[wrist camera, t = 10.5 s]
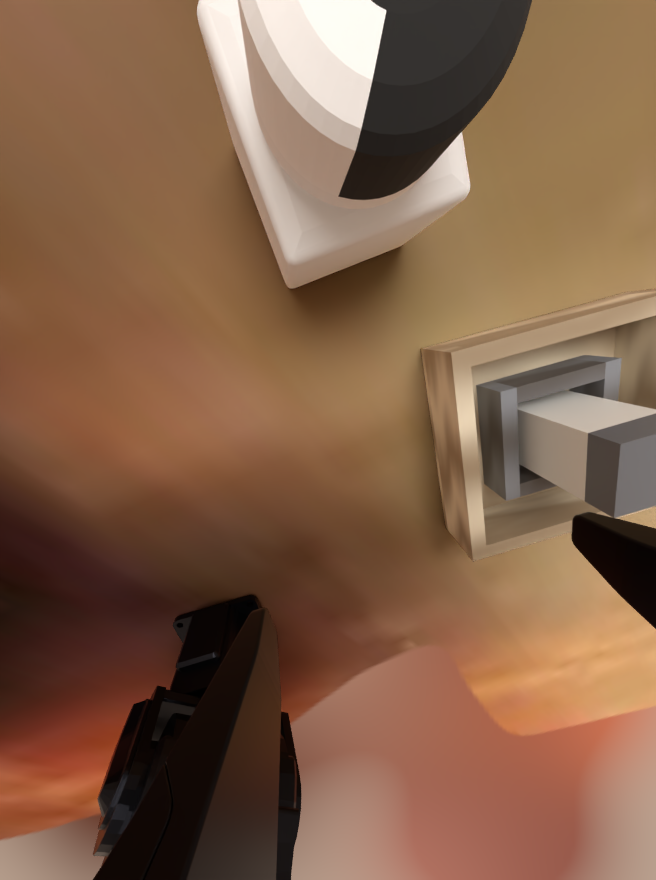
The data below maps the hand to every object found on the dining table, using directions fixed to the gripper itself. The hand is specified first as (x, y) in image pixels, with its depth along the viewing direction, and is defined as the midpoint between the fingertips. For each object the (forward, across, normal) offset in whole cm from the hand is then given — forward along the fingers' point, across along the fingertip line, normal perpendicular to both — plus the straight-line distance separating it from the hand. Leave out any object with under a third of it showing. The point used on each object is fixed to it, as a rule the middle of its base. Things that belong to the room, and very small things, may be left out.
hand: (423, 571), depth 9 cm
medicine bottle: (+13, -2, -13) cm, 19 cm away
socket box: (+13, -13, +3) cm, 19 cm away
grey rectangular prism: (+13, -13, +3) cm, 18 cm away
